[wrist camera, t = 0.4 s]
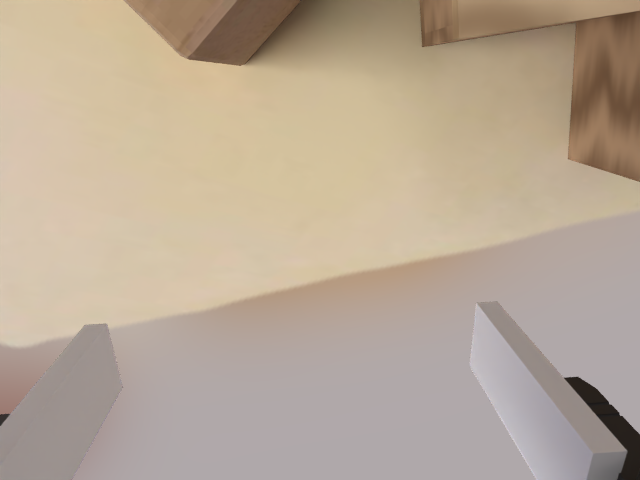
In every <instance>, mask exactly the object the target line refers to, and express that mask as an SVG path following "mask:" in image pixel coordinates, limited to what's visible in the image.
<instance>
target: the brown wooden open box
mask: <svg viewBox="0 0 640 480" xmlns="http://www.w3.org/2000/svg"><path fill="white" fill-rule="evenodd" d="M420 13H421V31H422V47H425V46H431V45H438V44H444V43H450V42H456V41H463V40H469V39H475V38H481V37H488V36H494V35H500V34H506V33H513V32H519V31H525V30H532V29H538V28H544V27H550V26H557V25H563V24H569V23H575V22H576V37H575V54H574V70H573V87H572V103H571V120H570V136H569V153H568V159H570V160H573V161H576V162H579V163H582V164H585V165H589V166H592V167H595V168H598V169H601V170H604V171H607V172H611V173H614V174H617V175H620V176H623V177H626V178H629V179H633V180H636V181H639V182H640V11H635V12H629V13H623V14H616V15H610V16H604V17H598V18H591V19H585V20H579V21H573V22H566V23H560V24H554V25H548V26H541V27H535V28H529V29H523V30H516V31H510V32H504V33H497V34H491V35H485V36H479V37H472V38H466V39H460V40H454V41H453V20H452V0H420Z"/></svg>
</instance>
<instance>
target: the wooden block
mask: <svg viewBox="0 0 640 480" xmlns="http://www.w3.org/2000/svg"><path fill="white" fill-rule="evenodd" d="M124 1H125V2H126V3H127V4H128V5H129V6H130V7H131V8H132V9H133V10H134V11H135V12H136V13H137V14H138V15H139V16H140V17H141V18H142V19H143V20H144V21H146V22H147V23H148V24H149V25H150V26H151V27H152V28H153V29H154V30H155V31H156V32H157V33H158V34H159V35H160V36H161V37H162V38H163V39H164V40H165V41H166V42H167V43H168V44H169V45H170V46H171V47H172V48H173V49H174V50H175V51H176V52H177V53H178V54H179V55H180V56H182V57H184V58H187V59H189V60H197V61H206V62H214V63H222V64H231V65H239V66H241V65H243V64H245V63H246V62H247V61H248V60H249V59H250V57H251V56H252V55H253V54H254V53H255V52H256V51H257V50H258V48H259V47H260V46H261V45H262V44H263V43H264V42H265V41H266V39H267V38H268V37H269V36H270V35H271V34H272V33H273V32H274V30H275V29H276V28H277V27H278V26H279V25H280V24H281V23H282V21H283V20H284V19H285V18H286V17H287V16H288V15H289V14H290V13H291V11H292V10H293V9H294V8H295V7H296V6H297V5H298V4H299V2H300V1H301V0H124Z"/></svg>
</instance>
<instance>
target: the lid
mask: <svg viewBox="0 0 640 480" xmlns="http://www.w3.org/2000/svg"><path fill="white" fill-rule="evenodd" d="M635 11H640V0H452V20H453V41H454V40H460V39H466V38H472V37H479V36H485V35H491V34H497V33H504V32H510V31H516V30H523V29H529V28H535V27H541V26H548V25H554V24H560V23H566V22H573V21H579V20H585V19H591V18H598V17H604V16H610V15H616V14H623V13H629V12H635Z"/></svg>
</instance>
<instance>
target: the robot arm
mask: <svg viewBox="0 0 640 480" xmlns="http://www.w3.org/2000/svg"><path fill="white" fill-rule="evenodd" d="M470 367H471V369H472V371H473V373H474V374H475V376H476V378H477V379H478V381H479V383H480V384H481V386H482V388H483V389H484V391H485V393H486V395H487V396H488V398H489V400H490V402H491V403H492V405H493V407H494V408H495V410H496V411H497V414H498V415H499V417H500V419H501V420H502V422H503V424H504V426H505V427H506V429H507V431H508V432H509V434H510V436H511V437H512V439H513V441H514V443H515V444H516V446H517V448H518V449H519V451H520V453H521V455H522V456H523V458H524V459H525V461H526V463H527V464H528V467H529V468H530V470H531V472H532V473H533V475H534V477H535V478H536V480H640V434H639V433H638V432H637V431H636V430H635V429H634V428H633V427H632V426H631V425H630V424H629V423H628V422H627V421H626V420H625V419H624V418H623V416H620V415H619V412H618V411H617V410H616V409H615V408H614V407H613V406H612V405H610V404H609V402H608V401H607V400H606V398H605V397H604V396H603V395H602V394H601V393H600V392H599V391H598V390H597V389H596V388H595V387H593V386H591V385H590V384H588V383H587V382H585V381H584V380H582V379H581V378H579V377H569V378H563V377H562V375H561V374H560V373H559V372H558V371H557V370H556V369H555V367H554V366H553V365H552V364H551V363H550V362H549V360H548V359H547V358H546V357H545V356H544V355H543V354H542V352H541V351H540V350H539V349H538V348H537V347H536V345H534V343H533V342H532V341H531V340H530V339H529V338H528V336H527V335H526V334H525V333H524V332H523V331H522V329H521V328H520V327H519V326H518V325H517V324H516V322H515V321H514V320H513V319H512V318H511V317H510V316H509V314H508V313H507V312H506V311H505V310H504V309H503V308H502V306H501V305H500V304H499V303H498V302H481V303H476V311H475V320H474V329H473V338H472V348H471V357H470ZM122 388H123V386H122V382H121V378H120V374H119V370H118V366H117V362H116V358H115V354H114V350H113V346H112V342H111V338H110V333H109V329H108V325H107V324H93V325H84V327H83V328H82V329H81V330H80V331H79V333H78V334H77V335H76V336H75V337H74V339H73V340H72V341H71V342H70V343H69V345H68V346H67V347H66V348H65V349H64V351H63V352H62V353H61V354H60V355H59V357H58V358H57V359H56V360H55V361H54V363H53V364H52V365H51V366H50V367H49V369H48V370H47V371H46V372H45V373H44V375H43V376H42V377H41V378H40V379H39V381H38V382H37V383H36V384H35V385H34V387H33V388H32V389H31V390H30V391H29V393H28V394H27V395H26V396H25V397H24V398H23V400H22V401H21V402H20V403H19V404H18V406H17V407H16V408H15V410H13V412H12V413H11V414H1V415H0V480H72V479H73V477H74V475H75V473H76V471H77V470H78V468H79V466H80V464H81V462H82V461H83V458H84V457H85V455H86V453H87V452H88V450H89V448H90V446H91V444H92V442H93V441H94V439H95V437H96V435H97V433H98V432H99V430H100V428H101V426H102V424H103V422H104V421H105V419H106V417H107V415H108V413H109V412H110V410H111V408H112V406H113V404H114V402H115V401H116V399H117V397H118V395H119V393H120V391H121V390H122Z"/></svg>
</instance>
